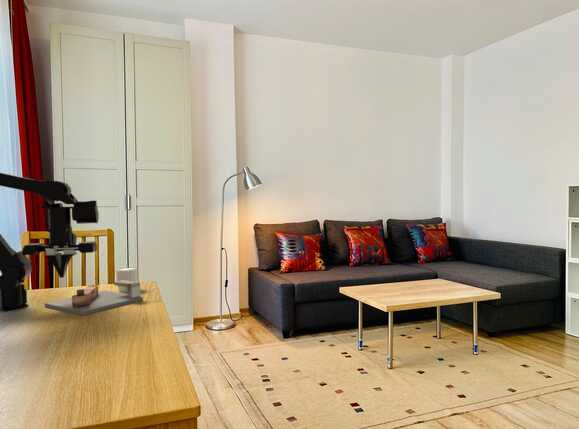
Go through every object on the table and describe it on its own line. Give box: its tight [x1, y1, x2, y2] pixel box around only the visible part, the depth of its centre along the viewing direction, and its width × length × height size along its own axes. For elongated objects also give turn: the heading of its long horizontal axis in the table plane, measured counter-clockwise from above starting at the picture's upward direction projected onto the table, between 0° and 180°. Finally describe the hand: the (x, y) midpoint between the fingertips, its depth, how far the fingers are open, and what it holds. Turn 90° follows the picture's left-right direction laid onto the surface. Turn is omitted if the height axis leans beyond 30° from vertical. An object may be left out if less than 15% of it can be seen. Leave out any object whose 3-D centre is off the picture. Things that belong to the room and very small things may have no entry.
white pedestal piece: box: [115, 267, 138, 292], centre depth 147 cm, size 7×7×7 cm
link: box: [71, 284, 99, 307], centre depth 129 cm, size 18×4×4 cm, turn 11°
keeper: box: [113, 280, 141, 298], centre depth 133 cm, size 3×8×4 cm, turn 56°
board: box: [44, 289, 144, 316], centre depth 129 cm, size 19×19×1 cm
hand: (62, 277), depth 129 cm, fingers closed
